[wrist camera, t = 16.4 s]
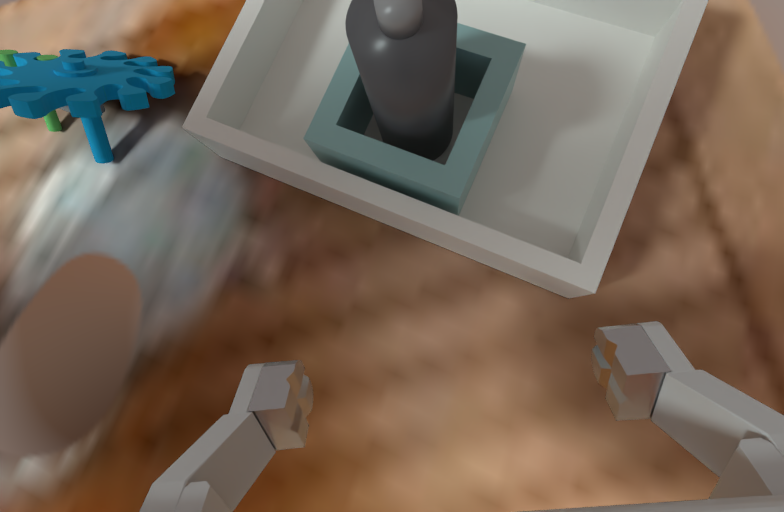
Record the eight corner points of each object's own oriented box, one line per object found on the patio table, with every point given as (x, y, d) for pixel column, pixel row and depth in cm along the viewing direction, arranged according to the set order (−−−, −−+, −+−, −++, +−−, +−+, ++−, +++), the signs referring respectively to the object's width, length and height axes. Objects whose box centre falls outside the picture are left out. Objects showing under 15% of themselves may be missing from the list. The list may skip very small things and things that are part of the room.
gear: (210, 65, 25) (28, 103, 18) (223, 157, 29) (75, 220, 22) (89, 29, 29) (-106, 48, 21) (114, 115, 32) (-46, 157, 25)
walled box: (220, 156, 26) (169, 118, 21) (328, -60, 28) (303, -143, 23) (568, 298, 22) (603, 291, 17) (670, 38, 24) (729, -35, 19)
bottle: (370, 150, 24) (319, 32, 14) (399, 88, 24) (367, -68, 15) (435, 175, 23) (429, 69, 13) (463, 111, 24) (477, -38, 14)
